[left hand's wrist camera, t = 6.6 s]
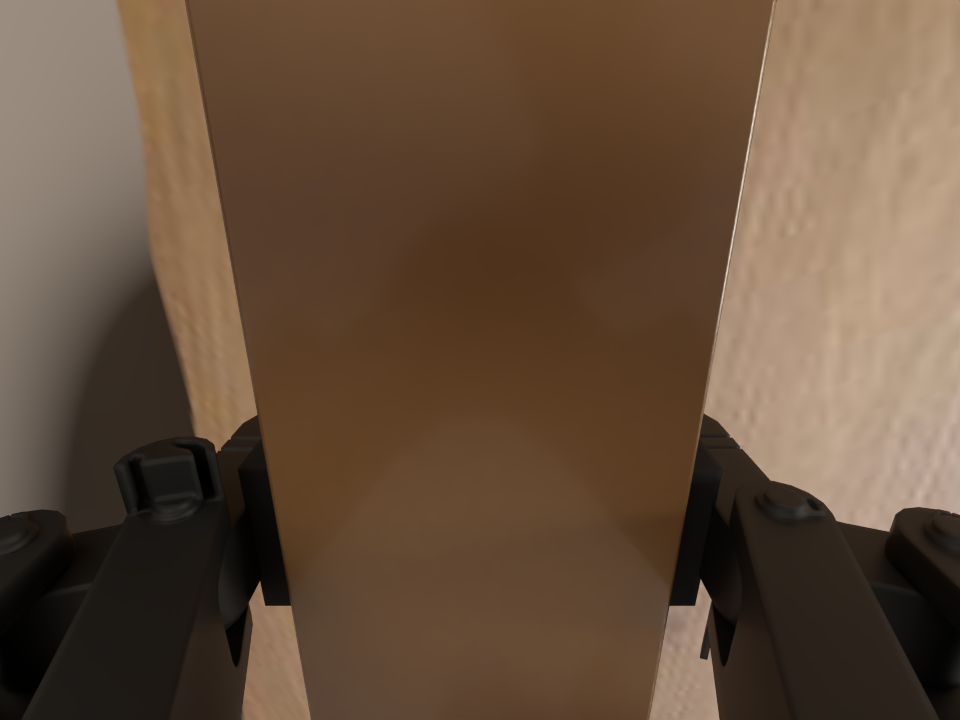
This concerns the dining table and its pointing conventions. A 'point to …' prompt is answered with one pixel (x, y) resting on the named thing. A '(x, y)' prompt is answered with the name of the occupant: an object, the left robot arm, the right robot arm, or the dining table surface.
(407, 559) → the beam
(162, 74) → the dining table surface
